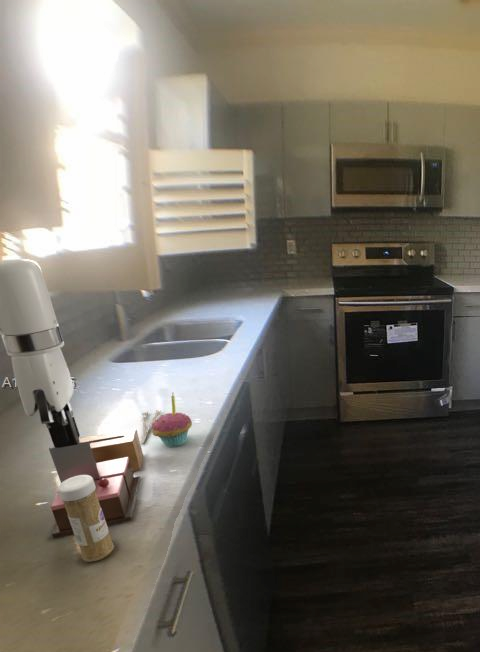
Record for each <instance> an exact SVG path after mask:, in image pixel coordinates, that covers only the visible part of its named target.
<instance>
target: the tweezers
mask: <svg viewBox="0 0 480 652" xmlns="http://www.w3.org/2000/svg"><path fill="white" fill-rule="evenodd" d="M161 413H162V410H161V409H160V410H159V409H158V410H157V409H155V414H154V415H153V416H152V419H151V421H150V422H149V424H148V427H147V425H146V424H147V423H146V416H148V415H149V411H146V412H141V415H142V425H143V427H142V428H143V429H142V431H143V432H142V441H141V444H144V443H145V441H146V438H147V436H148V433H149V431H150V429H151V428H152V424H153V423H154V422H155V420H157V419H158V416H159V415H160V414H161Z"/></svg>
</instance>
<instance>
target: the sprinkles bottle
mask: <svg viewBox="0 0 480 652" xmlns="http://www.w3.org/2000/svg"><path fill="white" fill-rule="evenodd" d="M58 492H59V495H60V498H61V500H63V502H64V505H65V508H66V511H67V514H68V518H69V521H70V524H71V527H72V529H73V532H74V533H73V535H74V537H75V540H76V543H77V544H78V546H79V550H80V553H81V558H82V560H83V561H84V562H89V563H91V562H97V561H101V560H102V559H105V558H106V557H108V556H109V555H110V554H111V553H112V551H113V550H114V548H115V545H114V543H113V542H112V541H113V540H112V538H111V535H110V532H109V527H108V526H107V524H106V521H105V518H104V515H103V512H102V509H101V507H100V504H99V501H98V498H97V495H96V492H95V483H94V480H93V478H92V477H91V476H89V475H78V476H74V477H71V478H69V479H67V480H65V481H63V482H62V483H61V482H60V484H59V485H58V486H57V493H58Z"/></svg>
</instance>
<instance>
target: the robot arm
mask: <svg viewBox="0 0 480 652" xmlns="http://www.w3.org/2000/svg"><path fill="white" fill-rule="evenodd" d="M0 337H1V340H2V343H3V346H4V349H5V351H6V354H7V356H9V357H11V364H12V370H13V371H12V372H13V375H14V379H15V383H16V386H17V390H18V394H19V398H20V400H21V403H22V408H23V410H24V414H26V415H27V416H29V417H33V416H34V415H35V414H36V413H37V412H38V413H39V414H38V415H39V420H40V423H41V425H45V427H46V428H47V431H48V433H49V435H50V439H51V442H52V444H53V447H55V448H59V447H65V446H71V445H75V444H76V438H75V435H74V432H73V429H72V426H71V423H68V422H67V418H66V415H65V412H64V411H67V410H70V413H71V416H72V419H73V422H74V425H75V428H76V431H77V434H78V437H79V438H80V436H81V434H80V431H79V428H78V426H77V423H76V419H75V416H74V412H73V408H72V404H71V402H70V400H71V399H72V397H73V395H74V392H75V389H74V383H73V381H72V379H73V378H72V377H71V376H72V375H71V373H70V370H69V367H68V364H67V361H66V359H65V357H64V354H63V351H62V348H63V347H64V346H65V342H64V338H63V335H62V333H61V329H60V325H59V322H58V318H57V315H56V313H55V310H54V306H53V303H52V299H51V296H50V293H49V290H48V286H47V283H46V280H45V276H44V273H43V270H42V268H41V266H40V265H39V264H38V263H37V262H36V261H34V260H31V259H25V258H19V259H17V258H15V259H4V260H0ZM54 413H58V414H59V416H58V415H57V414H55V415H52V414H54Z"/></svg>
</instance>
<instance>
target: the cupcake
mask: <svg viewBox="0 0 480 652" xmlns="http://www.w3.org/2000/svg"><path fill="white" fill-rule="evenodd" d="M175 398H176V397H175V395H174V392H172V395H171V397H170V400H171V412H167V413H164V414H163V415H161V416H160V417H157V418H156V419H155V420H154V422H153V424H152V425H151V433H152V435H153V436H154V437H158V438H159V439H160V440H161V441H162V443H163V445H164V446H165V447H167V448H176V447H179V446H182V445H184V444H185V443H186V442H187V440H188V433H189V430H190V429H191V427H192V425H193V422H192V418H191V417H190V416H189V415H187V414H186V413H183V412H177V411H176V401H175V400H176V399H175Z"/></svg>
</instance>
